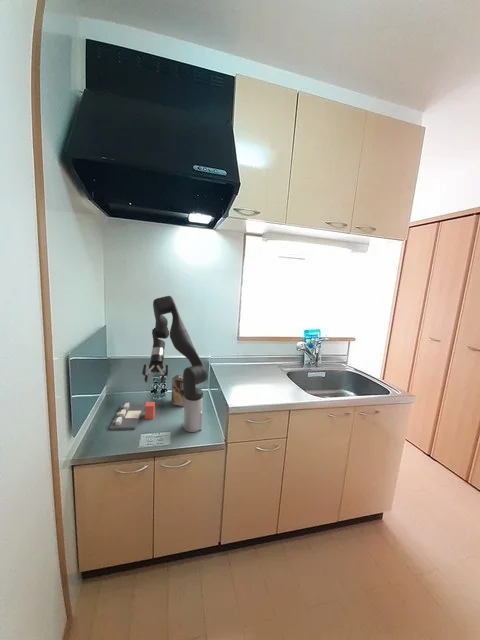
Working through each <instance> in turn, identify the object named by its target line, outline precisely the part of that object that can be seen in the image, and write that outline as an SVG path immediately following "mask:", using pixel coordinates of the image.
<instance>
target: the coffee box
mask: <svg viewBox="0 0 480 640" xmlns="http://www.w3.org/2000/svg"><path fill="white" fill-rule="evenodd" d="M171 404H172V405H176V406H180V407H183V408H184V390H183V375H179V374H176V375H175V376H173V377H172V378H171Z"/></svg>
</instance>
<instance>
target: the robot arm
mask: <svg viewBox="0 0 480 640" xmlns="http://www.w3.org/2000/svg"><path fill="white" fill-rule="evenodd" d="M152 301H153V302H152V308H153V312H154V313H153V314H154V318H155V328H154V327H153V328H154V329H153V328H152V330H151V334H152V335H151V336H152V341H153V342H152V349H151V354H150V362H149V364H148V365H147V364H146V363H145V364H143V368H142V372H141V373H142V376H144V382H145V383H147V384H148V381H149V380H148V379H149V375H151V374H152V373H155V374H158V373H159V374H160V375H161V377H160V382H161V383H162V384H163V383H164V382H165V377H167V376H168V375H169V365H168V364H165V365H164V359H165V348H166V342H165V340H163V339H168V338H170V340H171V343H172V345H173V347H174V349H175V350H176V351H178V353H180V354H181V355H182V356H184V357H185V358H186V359H187V360H188V361H189V363H190V364H191V366H189V367H186V368H184V369H183V372H182V373H183V374H182V376H183V390H184V407H183V423H182V425H183V426H182V427H183V430H184V431H186V432H189V433H196V432H198V431H202V427H203V400H204V399H203V398H204V391H203V389H202V388H199V387H196V385H199V384H201V383H204V382H206V381H207V380H208V376H209V375H208V374H209V373H208V370H207V368H206V366H205V364H204V362H203V361H202V359H201V357H200V356H199V353H198V352H197V350H196V348H195V346H194V344H193V342H192V339H191V337H190V334H189V333H188V331H187V328H186V327H185V325H184V322H183V320H182V318H181V316H180V313H179V310H178V307H177V305H176V302H175V300H174V298H173V296H171V295H167V296H166V295H165V296H162V297H157V298H155V299H154V300H152ZM166 314H171V316H172V317H171V318H172V320H171V326H170V329H169V327H168V323H169V322H168V319H167V317H166V316H164V315H166ZM168 329H169V330H168ZM147 369H148V370H147ZM163 369H164V370H165V372H164V371H163Z"/></svg>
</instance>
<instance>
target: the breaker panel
mask: <svg viewBox="0 0 480 640" xmlns="http://www.w3.org/2000/svg"><path fill="white" fill-rule="evenodd" d="M145 405H146V403H130V402H125V403H122V404H121V405H120V408H119V410H118V412H116V415H115V417H114V419H113V420H112V422H111V425H110V426H109V430H110V431H114V430H117V431H120V430H122V431H123V430H125V431H126V430H129V431H130V430H136V428H137V426H138V424H139V421H140V418H141V416H142V414H143V411H144V410H145Z"/></svg>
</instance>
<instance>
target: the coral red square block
mask: <svg viewBox="0 0 480 640" xmlns="http://www.w3.org/2000/svg"><path fill="white" fill-rule="evenodd" d="M145 402H146V403H145V406H144V419H145V420H154V418H155V415H156V402H155V401H145Z"/></svg>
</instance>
